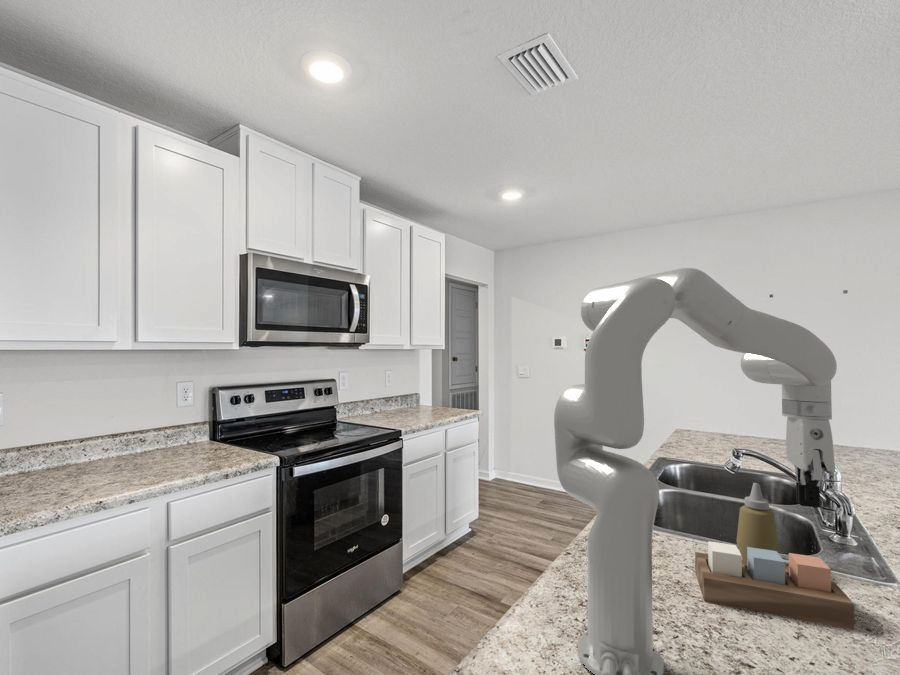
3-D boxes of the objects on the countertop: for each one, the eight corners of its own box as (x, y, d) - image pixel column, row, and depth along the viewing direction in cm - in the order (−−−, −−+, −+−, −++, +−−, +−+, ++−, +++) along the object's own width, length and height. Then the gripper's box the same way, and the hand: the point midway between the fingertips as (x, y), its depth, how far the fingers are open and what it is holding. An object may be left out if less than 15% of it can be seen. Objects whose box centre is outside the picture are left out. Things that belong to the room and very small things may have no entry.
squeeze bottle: (738, 551, 108) (737, 476, 108) (780, 561, 102) (779, 483, 103) (734, 563, 101) (733, 484, 102) (778, 574, 96) (776, 491, 97)
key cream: (741, 583, 86) (741, 555, 87) (712, 577, 88) (712, 551, 89) (736, 571, 91) (735, 545, 91) (708, 566, 93) (708, 541, 93)
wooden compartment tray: (854, 629, 77) (853, 603, 77) (704, 601, 86) (703, 577, 86) (825, 594, 88) (825, 572, 88) (695, 572, 97) (695, 551, 97)
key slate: (785, 590, 84) (784, 562, 84) (754, 585, 86) (753, 557, 86) (776, 577, 89) (776, 551, 89) (747, 573, 90) (747, 546, 91)
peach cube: (831, 598, 81) (830, 569, 81) (798, 592, 83) (797, 564, 83) (820, 585, 86) (819, 557, 86) (789, 580, 88) (788, 552, 88)
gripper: (848, 416, 77) (851, 522, 77) (814, 406, 91) (816, 496, 91) (796, 413, 80) (798, 516, 79) (771, 404, 94) (772, 491, 93)
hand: (808, 505), depth 85 cm, fingers closed
